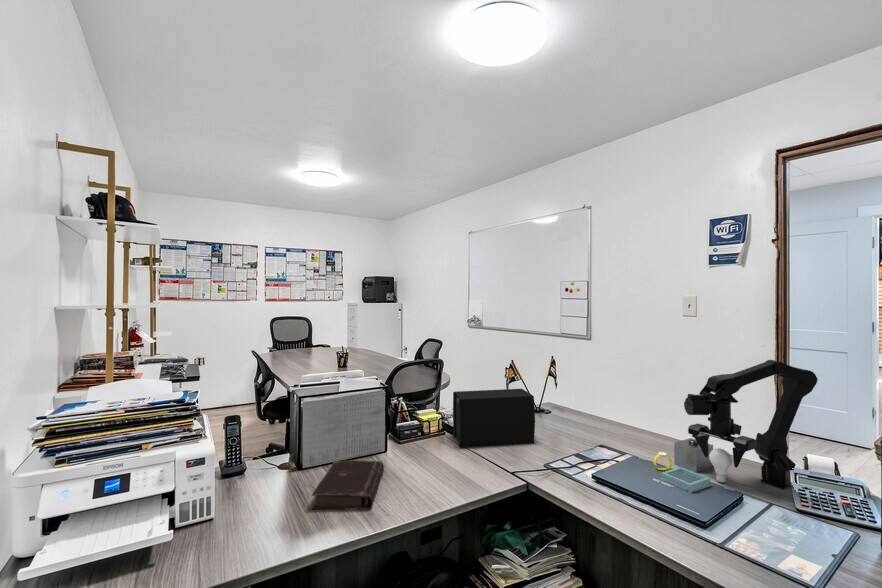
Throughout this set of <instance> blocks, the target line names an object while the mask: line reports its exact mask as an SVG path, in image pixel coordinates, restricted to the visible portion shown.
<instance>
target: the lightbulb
mask: <svg viewBox="0 0 882 588" xmlns="http://www.w3.org/2000/svg"><path fill="white" fill-rule="evenodd" d="M732 457H733V456H731V454H730V453H729V452H728V451H727V450H725V449H723V448H718V447H717V448H713V450H712V451H711V452H710V454H709V459H710V462H711V463H712V465H713V468H714V469H713V470H714V471H715V480H716V482H718V483H720V484H721V483H722V484H723V483H726V480H727V477H726V475H727V473H728V470H729V468H730V467H732V465H733V458H732Z"/></svg>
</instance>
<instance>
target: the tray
mask: <svg viewBox="0 0 882 588" xmlns="http://www.w3.org/2000/svg"><path fill="white" fill-rule="evenodd" d="M675 472H682V473H684V475H685V474H687V475H690V476H693V477H696V478H699V479H700V480H697V481H694V482H692V483H688V482H686V481H684V480H681V479H679V478H676V477H674V476H672V475H669V474H672V473H675ZM661 475H663V476H666V477H668V478H671V479H674V480H676V481H679V482H682V483H684V484H685V485H687V486H689V487H693V486H696V485H698V484H701V483H702V482H705V481H706V482H710V484H708V485H704V487H703V486H702V487H701V486H700V487H699V488H695V489H693V490H691V491H694V492H692V493H695V492H698V491H701V490H704V489H706V488H708V487H711V478H710V477H707V476H704V475H703V474H700V473H698V472H697V473H696V472H693V471H690V470H688V469H685V468H683V467H680V466H678V467H676V468H675V467H674V468H671V469H669V470H668V471H661ZM661 475H660V476H661ZM663 479H664V478H662V477H661V481H663V482H664V483H667V482H668V481H667V482H666V481H665V479H664V480H663ZM689 493H690V494H692V493H691V492H689Z"/></svg>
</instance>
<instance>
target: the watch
mask: <svg viewBox="0 0 882 588" xmlns="http://www.w3.org/2000/svg"><path fill="white" fill-rule="evenodd" d="M662 457H663V458H668V465H667V466H666V467H665V468H664V467H663V468H662V467H661V468H659V467H658V465H657V461H658V459H659V458H662ZM653 465H654V466H655V465H656V466H657V467H658V468H656V469H657V470H658V471H660V470H661V472H665V471H668V470H671V469H672V467H673V460H672V458H671V456H669V455H668V453H667V452H663V451H659V452H658V453H657V454H656V455H655V456H654V458H653ZM667 469H668V470H667ZM662 470H663V471H662ZM664 470H665V471H664Z"/></svg>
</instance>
